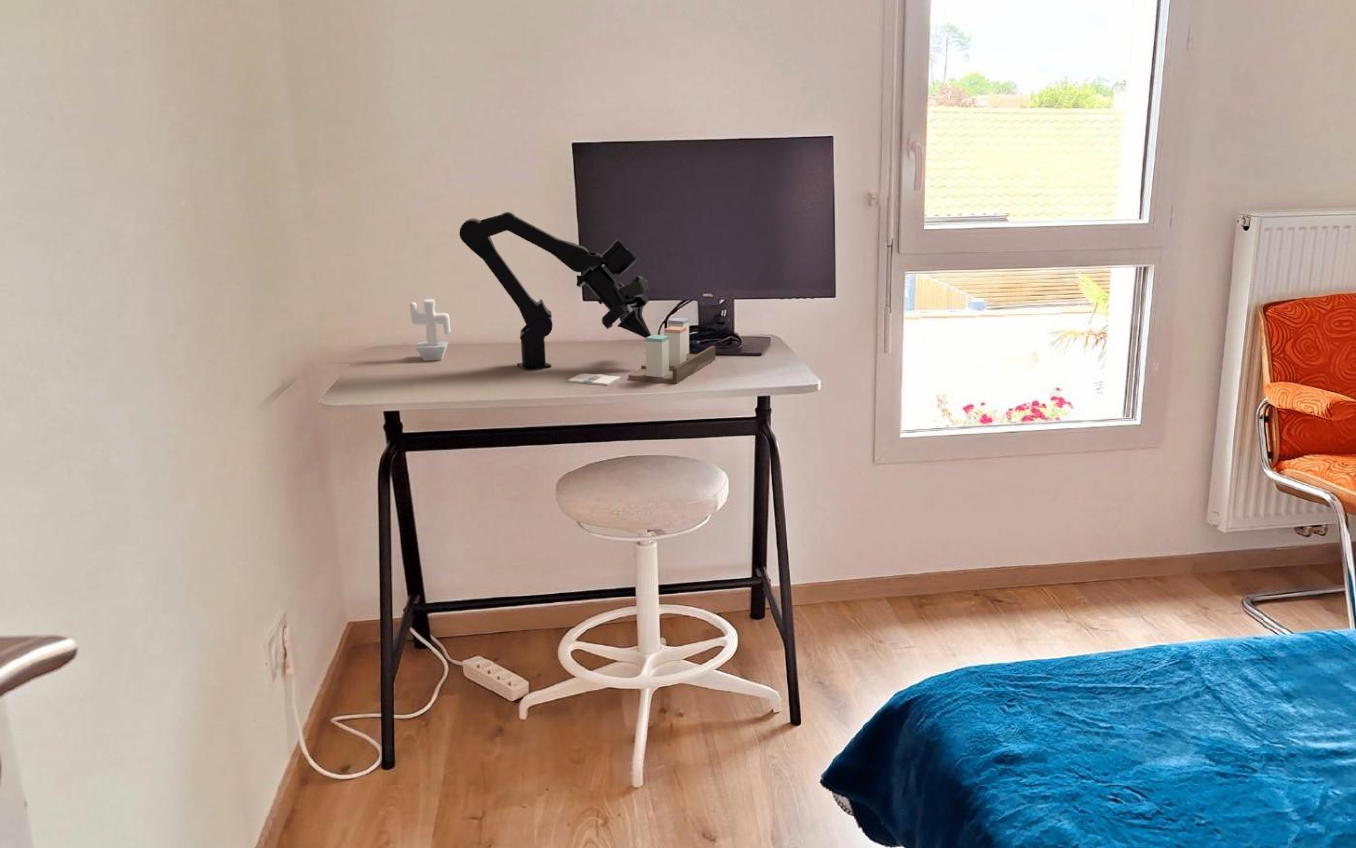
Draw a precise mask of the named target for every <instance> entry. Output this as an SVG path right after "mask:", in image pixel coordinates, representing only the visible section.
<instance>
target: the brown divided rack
mask: <svg viewBox="0 0 1356 848" xmlns="http://www.w3.org/2000/svg"><path fill="white" fill-rule="evenodd" d="M713 360H714V361H716V346H715V345H710V346H709V347H707V348H705V349H704V350H702V351H700V352H699V353H697V354H695V353H689V354H687V355H686V361H684V362H683V363H681V364H679V365H677V366H676V367H675V366H669V374H667V375H666V376H664V377H653V376H646V365H641V368H639V369H637V370H636V371H634V372H631V373H630V374H628V375H627V379H628V380H631V381H643V382H655V383H664V384H675V385H677V384H679V383H680V382H682V381H684V380H685V379H687V378H689V377H690V376H692V375H693V374H695V373H696V371H697V370H698V371H700V370H702V369H703V368H704V367H707V366H708V365H710V364H711V363H713V362H714V361H713ZM712 361H713V362H712ZM710 362H711V363H710ZM709 363H710V364H709ZM707 364H708V365H707ZM698 371H697V372H698ZM694 372H695V373H694ZM688 376H689V377H688Z"/></svg>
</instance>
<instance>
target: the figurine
mask: <svg viewBox="0 0 1356 848" xmlns="http://www.w3.org/2000/svg"><path fill="white" fill-rule="evenodd" d="M435 301H436V300H435V299H433V298H426V299H424V300H423V301H422V303H423V309H424V312H423V313H422V312H418V305H417V303H416V302H414V301H412V302H410V303H409V308H410V309H409V310H410V318H411V322H412V324H414V325H415V326H417V325H425V331H426V341H419V342H418V344H417V345H416V346H415V349H416V351H417V352H418V354H419V355H420V357H421V359H422V361H426V362H427V361H442V360H443V358H444V356H445V354H446V350H447V347H448V346H449V345H448V344H449V341H448V340H442V341H441V340H439V341H438V334H437V333H438V332H437V325H442V326H443V333H444V334H445V335H450V334H451V320H450V319H451V318H450V315H449V314H448V313H447V312H436V302H435Z"/></svg>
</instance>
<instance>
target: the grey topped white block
mask: <svg viewBox="0 0 1356 848" xmlns="http://www.w3.org/2000/svg"><path fill="white" fill-rule="evenodd" d="M670 326H674V327H686V355H687V354H690V318H686V317H685V318H683V317H673V318H670V319H668V320H667V328H668V327H670Z"/></svg>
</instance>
